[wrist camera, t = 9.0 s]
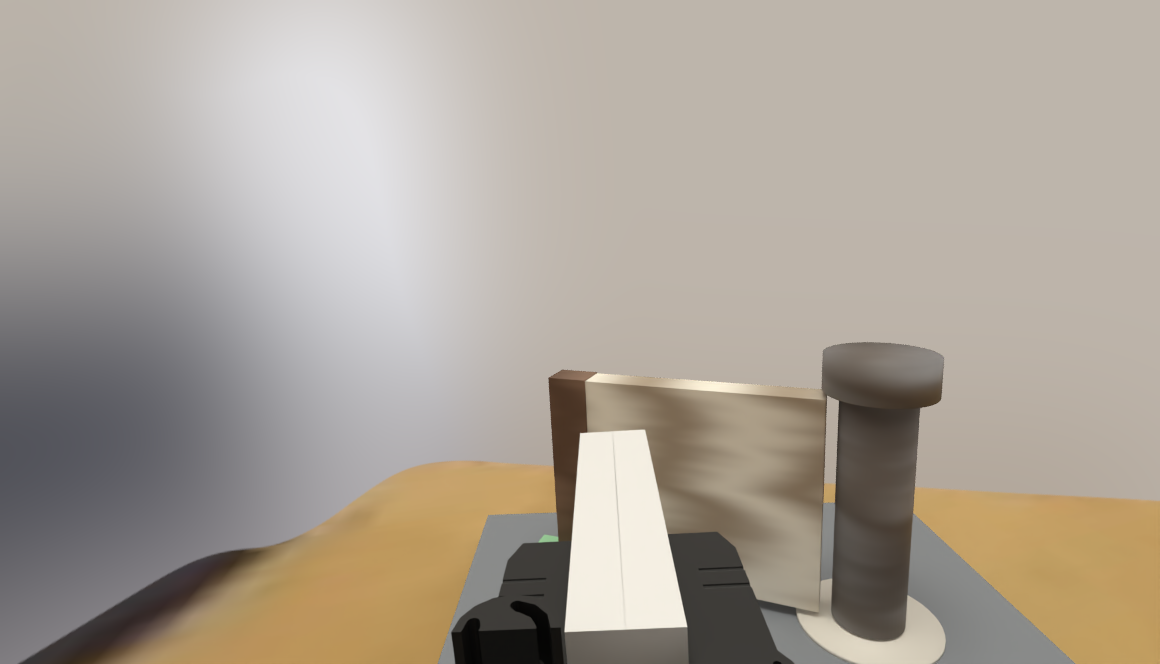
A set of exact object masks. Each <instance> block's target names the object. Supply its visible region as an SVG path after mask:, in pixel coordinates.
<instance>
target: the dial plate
mask: <svg viewBox="0 0 1160 664" xmlns="http://www.w3.org/2000/svg"><path fill="white" fill-rule="evenodd" d="M834 519H835V503H823V526H822V555H821V584H820V602H819V613H818V612H814V611H809V610H804V609H800V608H795V607H790V606H786V605H781V604H777V603H772V602H767V601H763V600H758V599H757V601H758V604H759V606H760V609H761V611H762V614H763V616H764V618H765V621H766V623H767V626H768V628H769V631H770V633H771V636H772V638H773V641H774V643H775V645H776V648H777V650H778V651H779V652H781V653H782V654H783V655H785V656H786V657H787V658H789V659H790V660H792V661H793V662H794V664H1075V663H1074V662H1073V661H1072V660H1071V659H1070V658H1069V657H1068V656H1067V655H1066V654H1064V653H1063V652H1062V651H1061V650H1060V649H1059V648H1058V647H1057V646H1056V645H1055V644H1054V643H1053V642H1052V641H1050V640H1049V639H1048V638H1047V637H1046V636H1045V635H1044V634H1043V633H1042V632H1041V631H1040V630H1039V629H1038V628H1036V627H1035V626H1034V625H1033V624H1032V623H1031V622H1030V621H1029V620H1028V619H1027V618H1026V617H1025V616H1024V615H1022V614H1021V613H1020V612H1019V611H1018V610H1017V609H1016V608H1015V607H1014V606H1013V605H1012V604H1011V603H1009V602H1008V601H1007V600H1006V599H1005V598H1004V597H1003V596H1002V595H1001V594H1000V593H999V592H998V591H997V590H995V589H994V588H993V587H992V586H991V585H990V584H989V583H988V582H987V581H986V580H985V579H984V578H983V577H981V576H980V575H979V574H978V573H977V572H976V571H975V570H974V569H973V568H972V567H971V566H970V565H969V564H967V563H966V562H965V561H964V560H963V559H962V558H961V557H960V556H959V555H958V554H957V553H956V552H954V551H953V550H952V549H951V548H950V547H949V546H948V545H947V544H946V543H945V542H944V541H943V540H942V539H940V538H939V537H938V536H937V535H936V534H935V533H934V532H933V531H932V530H931V529H930V528H929V527H928V526H926V525H925V524H924V523H923V522H922V521H921V520H920V519H919V518H918V517H917V516H916V515H915V514H914V513H913V521H912V536H911V551H910V566H909V581H908V596H907V611H906V626H905V631H904V632H903V634H902V635H900V636H899V637H897V638H894V639H890V640H873V639H868V638H864V637H861V636H858V635H856V634H853V633H851V632H849V631H848V630H846V629H845V628H843V627H842V626H841V625H840V624H838V623H837V621H836V620H835V619H834V617H833V615H832V613H831V597H832V571H833V545H834ZM538 542H558V525H557V513H534V514H506V515H488V518H487V521H486V524H485V526H484V529H483V532H482V535H481V538H480V541H479V544H478V547H477V550H476V553H475V556H474V559H473V562H472V565H471V568H470V571H469V573H468V576H467V579H466V582H465V585H464V588H463V591H462V594H461V597H460V600H459V603H458V606H457V609H456V612H455V615H454V617H453V620H452V623H451V626H450V629H449V632H448V635H447V638H446V641H445V644H444V647H443V650H442V653H441V656H440V659H439V661H438V664H455V658H454V651H453V643H452V636H451V632H452V630H453V628H454V627H455V625H456V623H457V622H458V620H459V619H460V617H462V616H463V615H464V614H465V613H467V612H468V611H469V610H470V609H472V608H473V607H474V606H476V605H478V604H480V603H483V602H485V601H487V600H490V599H492V598H496V597H498V596H499V592H500V588H501V584H503V576H504V572H505V569H506V565H507V561H508V559H509V558H510V557H511V556H512V555H513V554H514V553H515V552H516V551H517V549H518V548H519V547H520V546H521V545H522V544H523V543H538Z"/></svg>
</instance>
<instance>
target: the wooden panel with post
mask: <svg viewBox="0 0 1160 664" xmlns="http://www.w3.org/2000/svg"><path fill="white" fill-rule="evenodd" d="M822 364H823V365H822V389H808V388H794V387H780V386H765V385H751V384H737V383H724V382H710V381H696V380H681V379H668V378H653V377H639V376H625V375H611V374H597V372H586V371H572V370H561V371H560V372H558V373H556V374H554V375H553V376H551V377H549V394H550V411H551V425H552V426H551V427H552V442H553V459H554V476H555V492H556V509H557V525H558V541H572V531H573V518H574V505H575V493H576V480H577V467H578V455H579V442H580V433H592V432H610V431H627V430H645V432H646V436H647V441H648V446H649V450H650V455H651V460H652V464H653V469H654V474H655V478H656V483H657V488H658V492H659V497H660V502H661V506H662V511H663V516H664V520H665V525H666V530H667V534H679V533H700V532H718V533H719V534H721V535H722V536H723V537H724V538H725V539H726V540H728V541H729V542H730V543H731V544H732V545H733V546H735V547H736V550H737V552H738V555H739V557H740V560H741V562H742V564H743V569H744V570H745V572H746V574H747V577H748V579H749V582H750V587H752V589H753V591H754V594H755V596H756V599H758V600H763V601H767V602H772V603H777V604H781V605H786V606H790V607H795V608H800V609H804V610H809V611H814V612H818V613H819V602H820V584H821V555H822V526H823V497H824V468H825V438H826V436H825V435H826V408H827V407H826V406H827V395H828V396H830V397H832V398H834V399H836V400H839V416H838V441H837V467H836V468H837V469H836V493H835V519H834V545H833V571H832V597H831V613H832V615H833V617H834V619H835V620H836V621H837V623H838V624H840V625H841V626H842V627H843V628H845V629H846V630H848V631H849V632H851V633H853V634H856V635H858V636H861V637H864V638H868V639H873V640H890V639H894V638H897V637H899V636H900V635H902V634H903V632H904V631H905V626H906V611H907V596H908V581H909V566H910V551H911V536H912V521H913V506H914V491H915V476H916V460H917V446H918V430H919V415H920V408H922V407H927V406H931V405H934V404H936V403H938V402H939V401H940V400H941V394H942V380H943V368H944V357H943V356H942V355H941V354H939V353H937V352H935V351H932V350H928V349H925V348H920V347H915V346H909V345H901V344H891V343H872V342H869V343H868V342H867V343H866V342H863V343H846V344H839V345H834V346H831V347H828V348H826V349H824V350H823V362H822Z"/></svg>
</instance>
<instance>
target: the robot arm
mask: <svg viewBox="0 0 1160 664" xmlns="http://www.w3.org/2000/svg"><path fill="white" fill-rule="evenodd" d="M451 636H452V643H453V651H454V658H455V664H794V662H793V661H792V660H790V659H789V658H787V657H786V656H785V655H783V654H782V653H781V652H779V651H778V650H777V648H776V645H775V643H774V641H773V638H772V636H771V633H770V631H769V628H768V626H767V623H766V621H765V618H764V616H763V614H762V611H761V609H760V606H759V604H758V601H757V599H756V596H755V594H754V591H753V589H752V587H750V582H749V579H748V577H747V574H746V572H745V570H744V569H743V564H742V562H741V560H740V557H739V555H738V552H737V550H736V547H735V546H733V545H732V544H731V543H730V542H729V541H728V540H726V539H725V538H724V537H723V536H722V535H721V534H719V533H718V532H700V533H679V534H667V530H666V525H665V520H664V516H663V511H662V506H661V502H660V497H659V492H658V488H657V483H656V478H655V474H654V469H653V464H652V460H651V455H650V450H649V446H648V441H647V436H646V432H645V430H627V431H610V432H592V433H580V442H579V455H578V467H577V480H576V493H575V505H574V518H573V531H572V541H558V542H538V543H523V544H522V545H521V546H520V547H519V548H518V549H517V551H516V552H515V553H514V554H513V555H512V556H511V557H510V558H509V559H508V561H507V565H506V569H505V572H504V576H503V584H501V588H500V592H499V596H498V597H496V598H492V599H490V600H487V601H485V602H483V603H480V604H478V605H476V606H474V607H473V608H472V609H470V610H469V611H468V612H467V613H465V614H464V615H463V616H462V617H460V619H459V620H458V622H457V623H456V625H455V627H454V628H453V630H452V632H451Z"/></svg>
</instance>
